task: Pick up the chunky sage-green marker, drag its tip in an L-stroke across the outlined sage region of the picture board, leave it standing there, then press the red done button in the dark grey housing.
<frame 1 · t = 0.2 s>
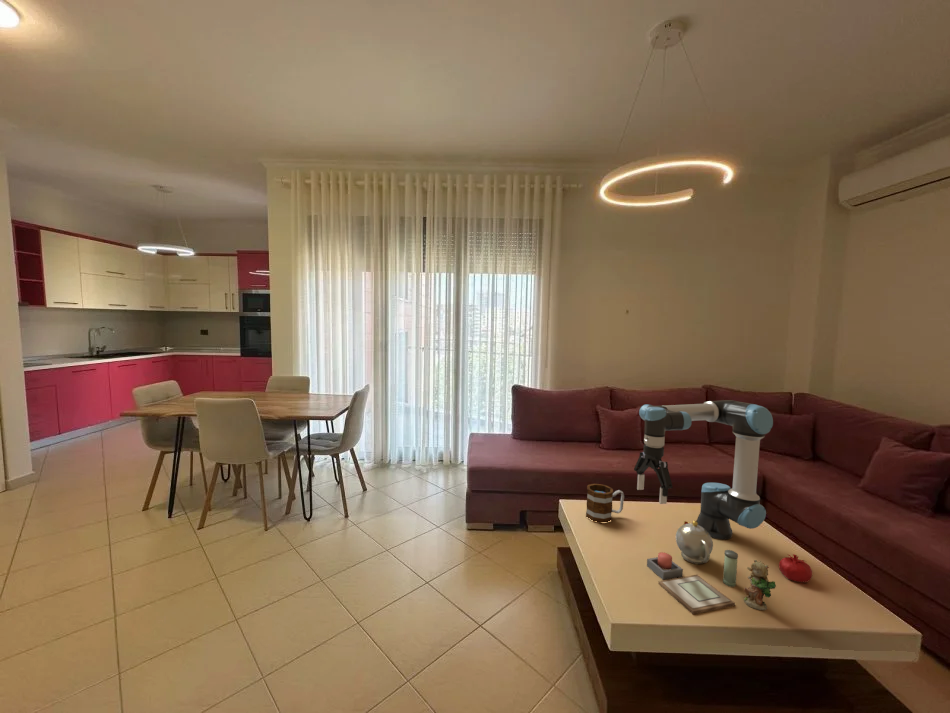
hand: (651, 496, 156), 28 cm above the table, fingers open, 13 cm apart
marker: (729, 583, 145), on the table
mug: (604, 517, 195), on the table
done button: (664, 560, 151), point 4 cm above the table, slide at 0.0 cm
figurine: (757, 606, 133), on the table
picture board: (695, 594, 138), on the table
button housing: (664, 571, 151), on the table
pomegranate: (794, 578, 149), on the table
teapot: (694, 561, 159), on the table
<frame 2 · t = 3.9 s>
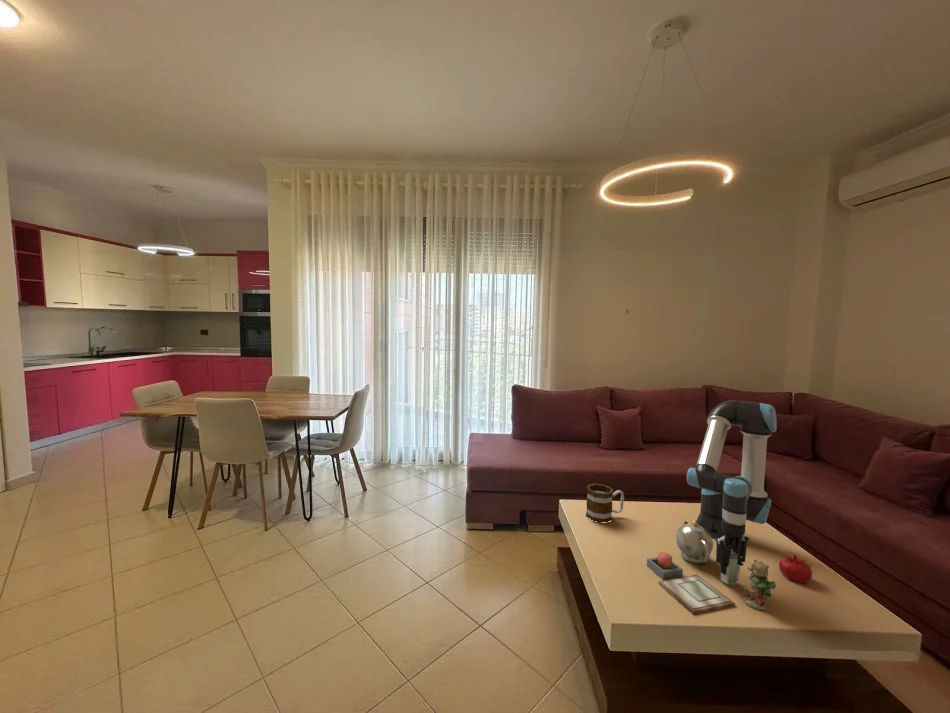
hand: (729, 580, 145), 1 cm above the table, fingers closed on marker, 4 cm apart
marker: (729, 583, 145), on the table, touching gripper
everything else where it was.
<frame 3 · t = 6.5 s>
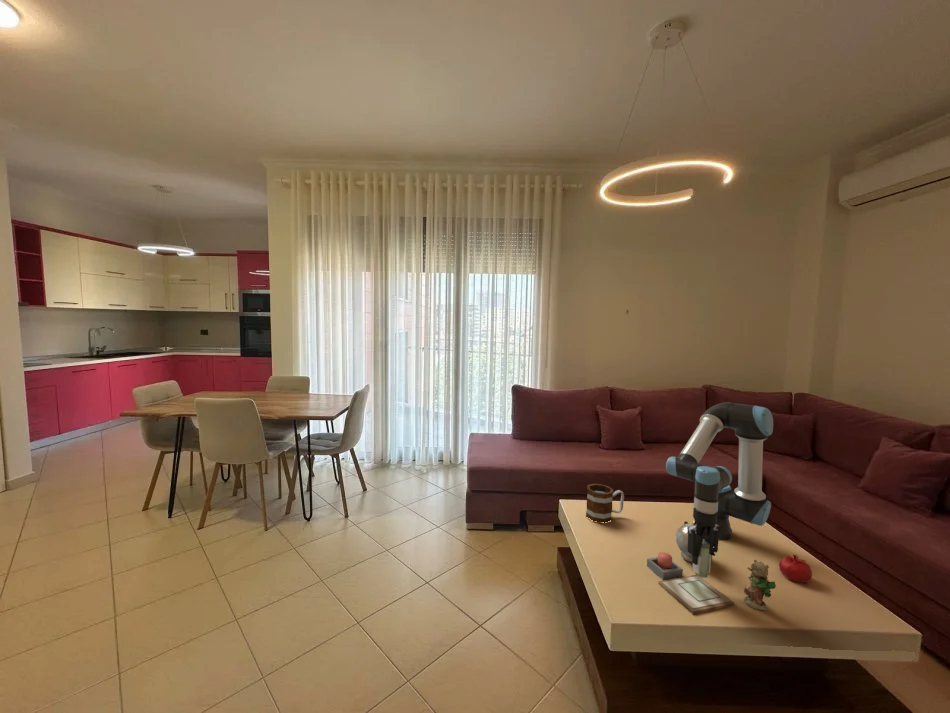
hand: (701, 571, 141), 7 cm above the table, fingers closed on marker, 4 cm apart
marker: (701, 574, 141), point 5 cm above the table, touching gripper
everything else where it was.
when the fingers open (3 cm above the table, at t = 9.2 s): marker stays where it is, resting on picture board.
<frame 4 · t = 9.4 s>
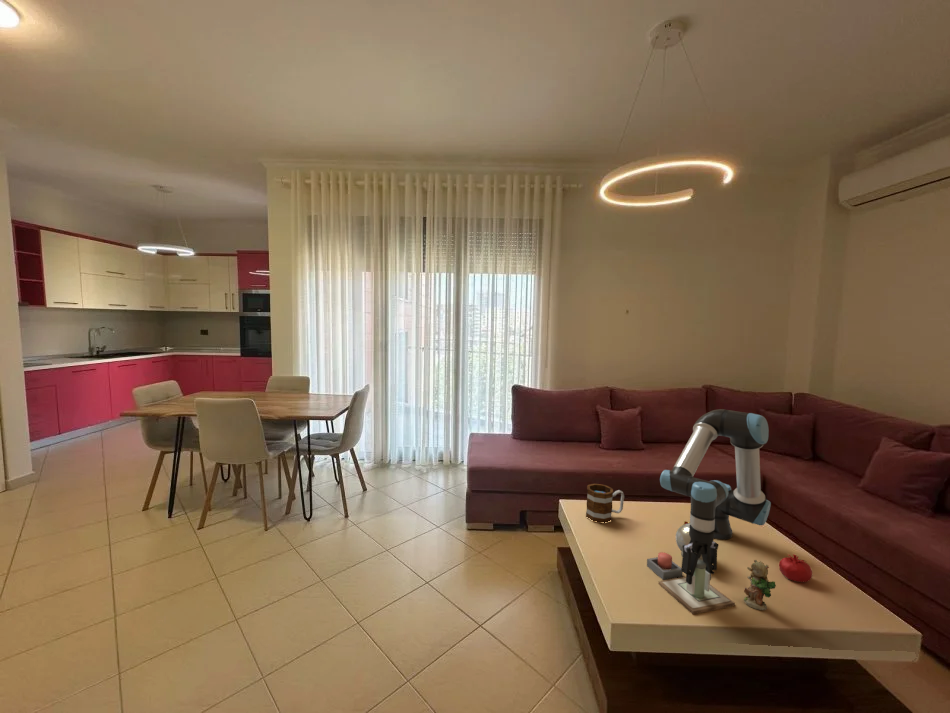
hand: (697, 590, 136), 3 cm above the table, fingers open, 6 cm apart
marker: (697, 595, 136), point 1 cm above the table, touching picture board
everything else where it was.
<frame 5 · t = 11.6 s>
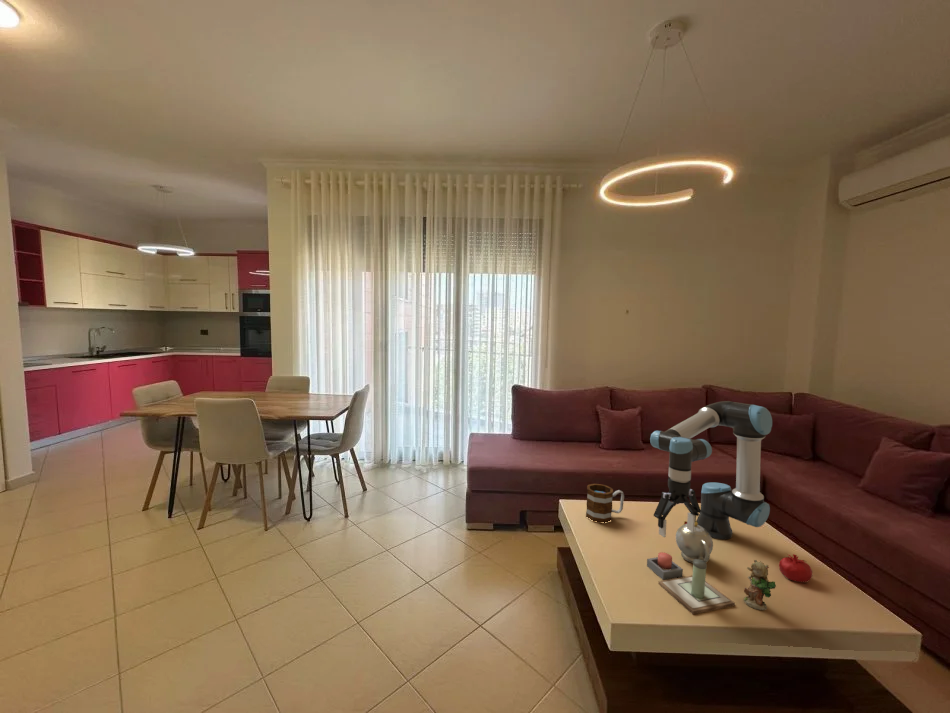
hand: (676, 533, 146), 18 cm above the table, fingers open, 13 cm apart
nothing on the table moved.
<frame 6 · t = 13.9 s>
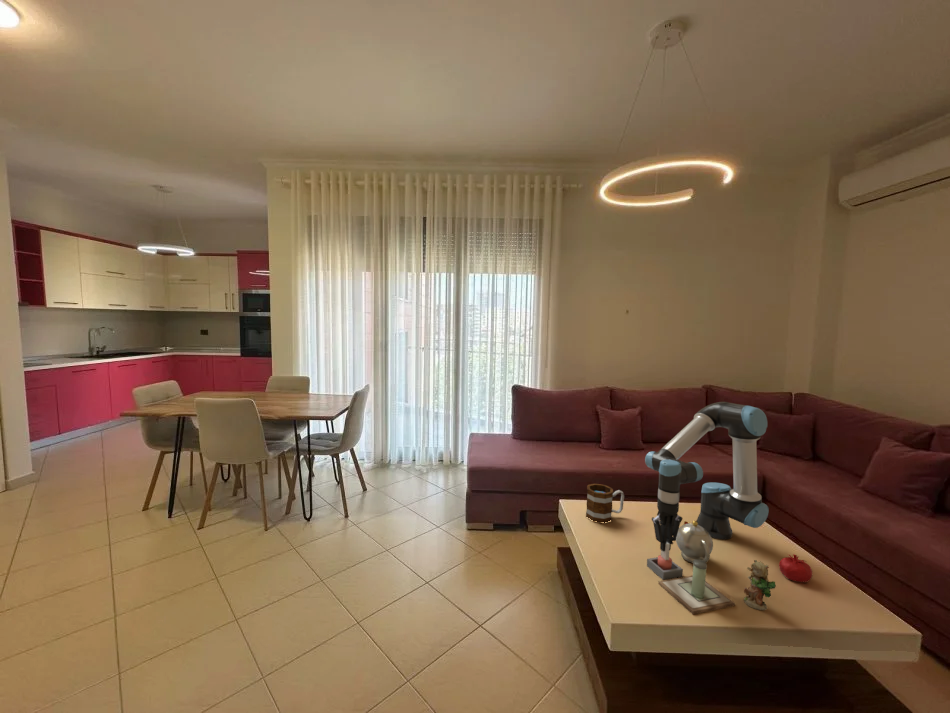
hand: (664, 558, 151), 5 cm above the table, fingers closed
done button: (664, 563, 151), point 3 cm above the table, slide at 1.1 cm, touching gripper
everything else where it was.
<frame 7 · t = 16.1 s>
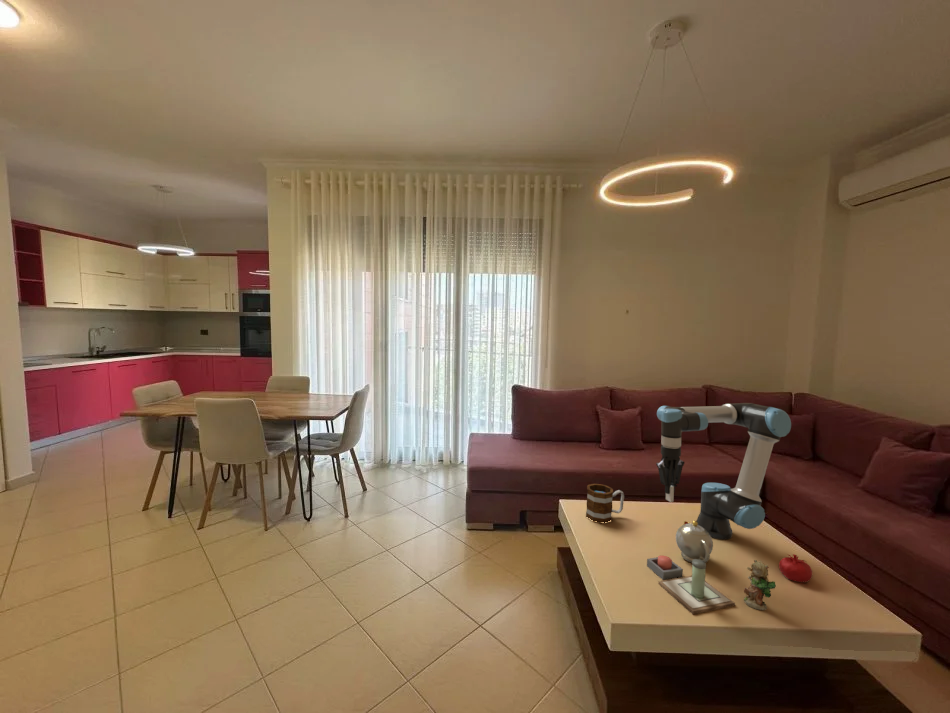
hand: (669, 500, 161), 24 cm above the table, fingers closed
done button: (664, 563, 151), point 3 cm above the table, slide at 1.3 cm
everything else where it was.
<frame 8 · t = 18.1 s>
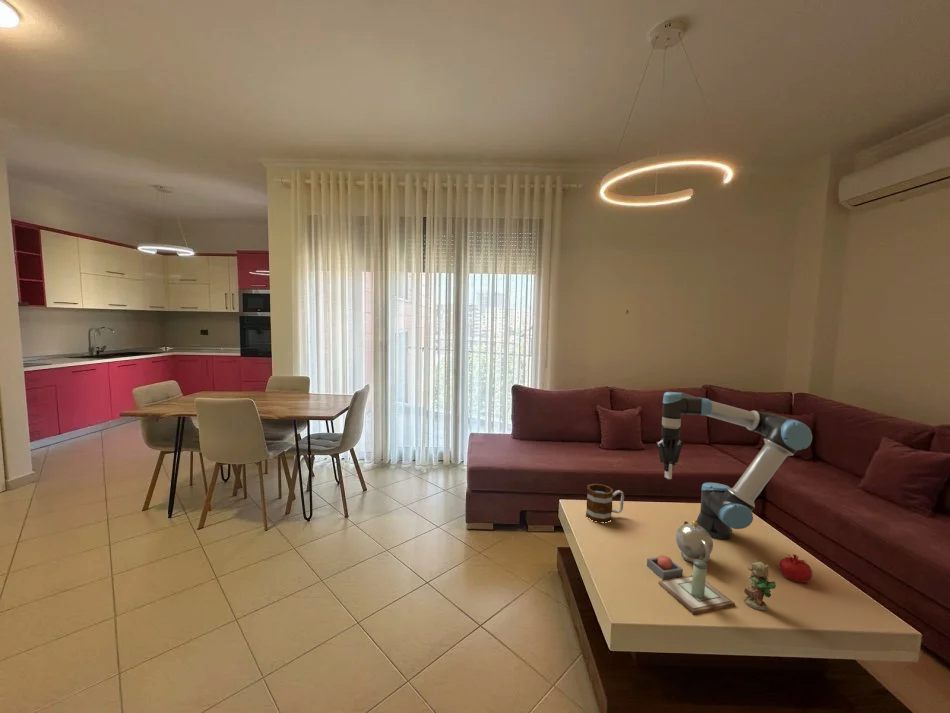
hand: (668, 477, 172), 29 cm above the table, fingers closed
nothing on the table moved.
at the end: marker inside the target area on the picture board (3.2 cm from its centre), point 1.3 cm above the picture board's base; the gripper is holding nothing; done button slide at 1.3 cm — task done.
